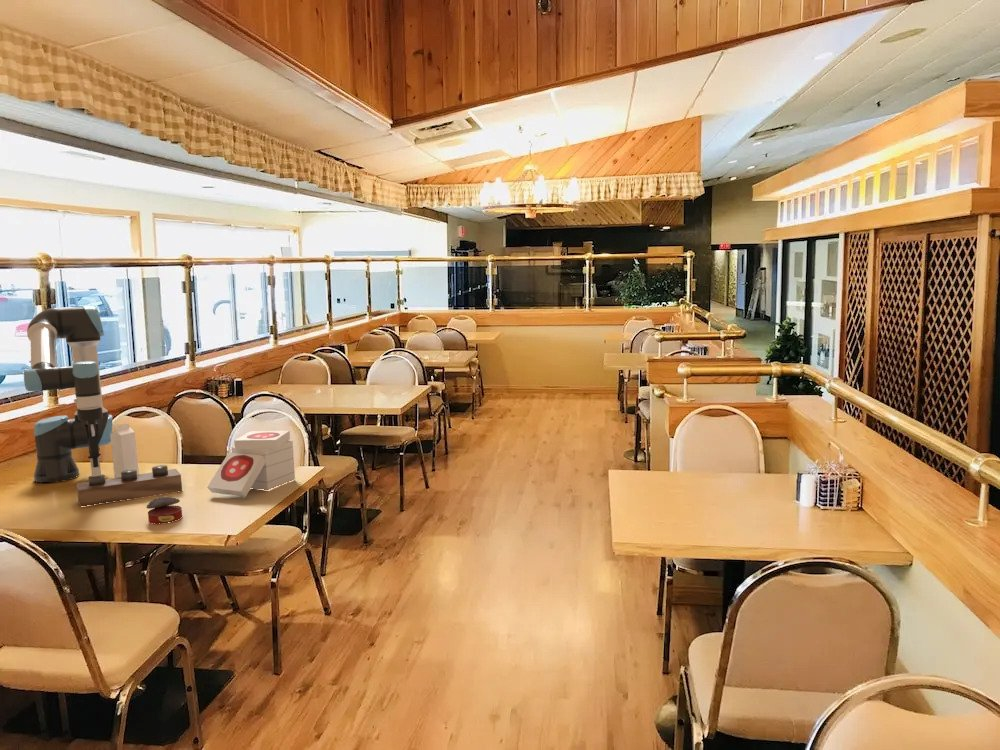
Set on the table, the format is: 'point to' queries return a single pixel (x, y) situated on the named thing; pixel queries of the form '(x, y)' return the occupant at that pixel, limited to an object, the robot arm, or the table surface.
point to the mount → (129, 488)
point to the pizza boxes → (255, 463)
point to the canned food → (164, 510)
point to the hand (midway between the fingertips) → (96, 475)
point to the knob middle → (129, 475)
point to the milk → (124, 449)
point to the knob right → (159, 470)
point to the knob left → (97, 480)
